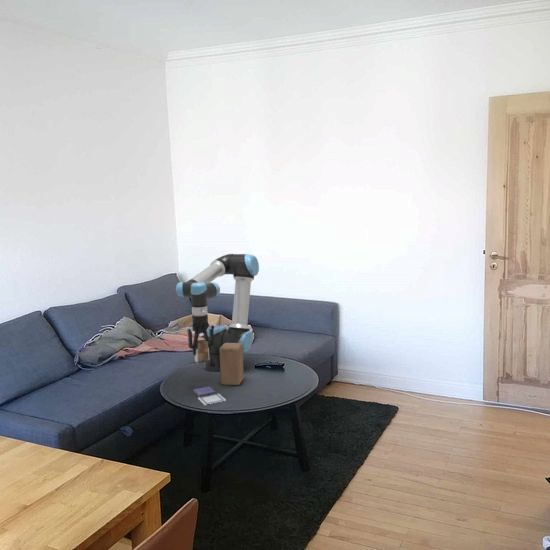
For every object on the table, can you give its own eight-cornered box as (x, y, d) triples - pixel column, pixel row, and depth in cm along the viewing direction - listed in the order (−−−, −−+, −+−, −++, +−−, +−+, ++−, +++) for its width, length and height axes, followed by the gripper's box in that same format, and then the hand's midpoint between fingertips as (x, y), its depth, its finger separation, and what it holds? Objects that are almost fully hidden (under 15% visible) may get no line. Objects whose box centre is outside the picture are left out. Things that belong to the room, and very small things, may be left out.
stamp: (205, 358, 289) (204, 339, 287) (208, 361, 284) (207, 341, 283) (195, 360, 286) (194, 340, 285) (199, 363, 282) (198, 343, 280)
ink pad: (209, 388, 294) (209, 386, 294) (216, 394, 286) (216, 391, 286) (193, 391, 290) (192, 389, 290) (198, 397, 282) (198, 395, 282)
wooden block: (239, 385, 296) (237, 348, 293) (220, 385, 298) (218, 347, 295) (244, 379, 306) (242, 342, 303) (226, 378, 308) (224, 342, 305)
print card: (218, 394, 286) (218, 393, 286) (226, 400, 277) (226, 399, 277) (197, 398, 281) (197, 397, 281) (204, 405, 272) (204, 404, 272)
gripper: (184, 318, 274) (186, 365, 278) (220, 313, 282) (222, 359, 286) (179, 315, 281) (182, 361, 285) (214, 310, 289) (216, 355, 292)
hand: (202, 360), depth 285 cm, fingers closed on stamp, 5 cm apart
